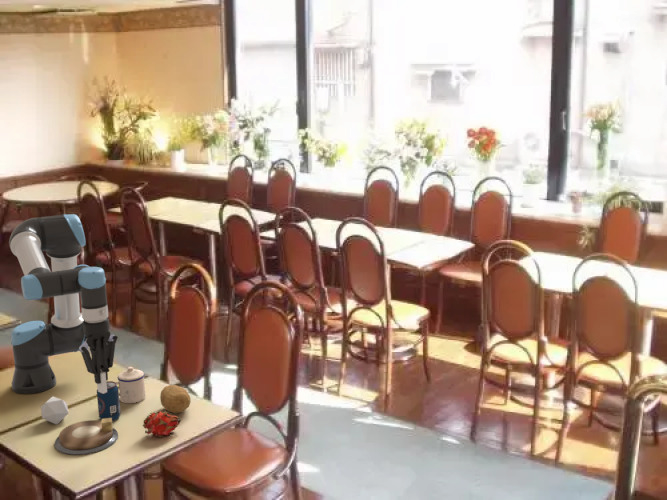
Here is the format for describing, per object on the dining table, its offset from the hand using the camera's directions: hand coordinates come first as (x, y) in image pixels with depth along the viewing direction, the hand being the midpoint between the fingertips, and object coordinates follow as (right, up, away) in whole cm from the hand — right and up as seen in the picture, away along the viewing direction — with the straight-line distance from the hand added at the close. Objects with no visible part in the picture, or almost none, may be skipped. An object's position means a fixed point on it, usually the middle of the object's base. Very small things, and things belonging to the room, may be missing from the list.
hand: (102, 391), depth 248 cm
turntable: (-6, -16, +6) cm, 18 cm away
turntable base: (-6, -16, +6) cm, 18 cm away
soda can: (-3, -13, +20) cm, 24 cm away
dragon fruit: (+17, -15, +9) cm, 24 cm away
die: (-21, -13, +19) cm, 31 cm away
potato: (+18, -11, +25) cm, 33 cm away
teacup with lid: (-1, -9, +35) cm, 36 cm away
